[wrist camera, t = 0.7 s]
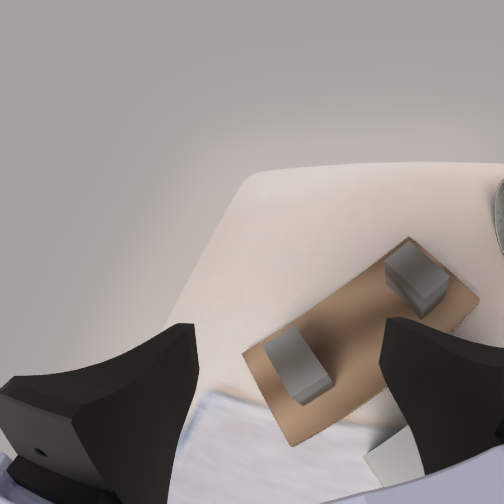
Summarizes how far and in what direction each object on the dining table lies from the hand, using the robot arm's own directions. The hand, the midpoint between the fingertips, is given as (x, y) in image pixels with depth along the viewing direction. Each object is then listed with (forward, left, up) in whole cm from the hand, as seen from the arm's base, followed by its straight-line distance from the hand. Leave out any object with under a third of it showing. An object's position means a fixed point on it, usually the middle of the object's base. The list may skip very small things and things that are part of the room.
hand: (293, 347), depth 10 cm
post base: (+4, -5, -15) cm, 16 cm away
